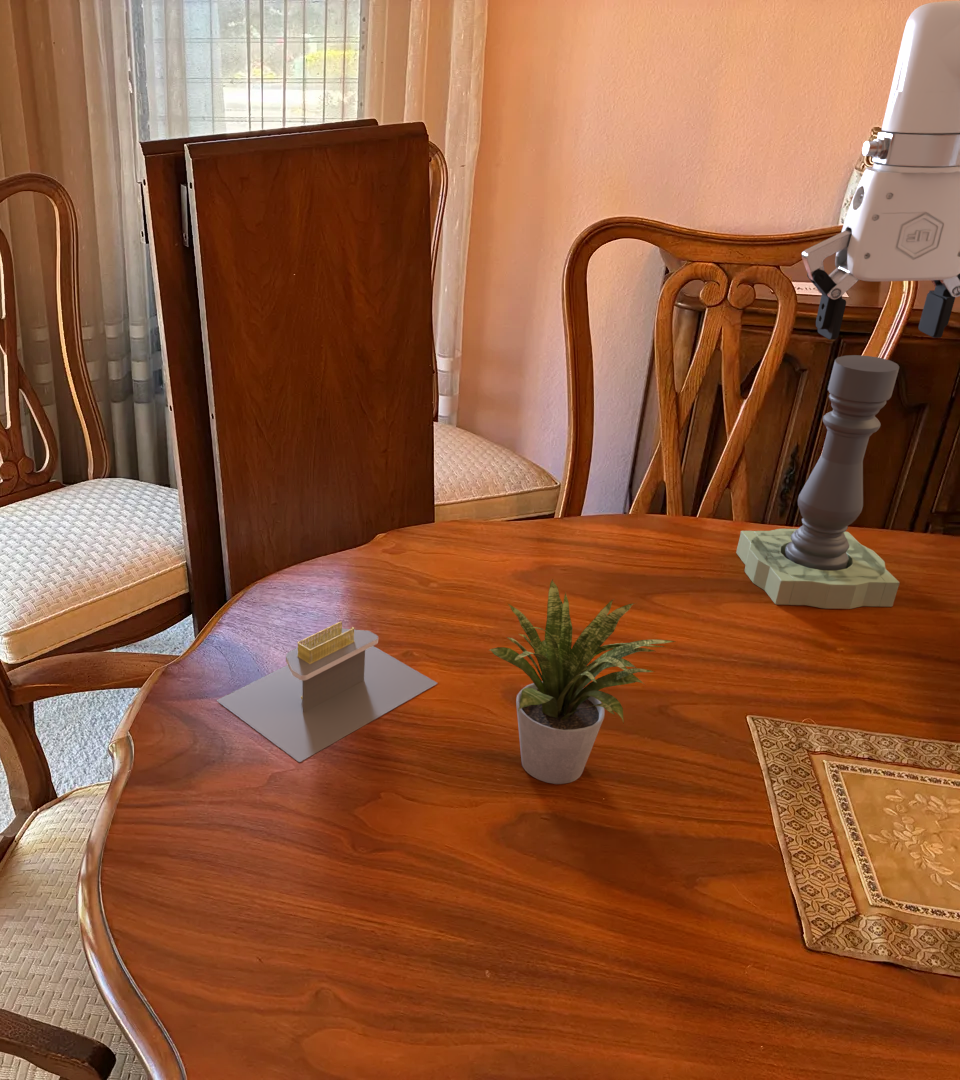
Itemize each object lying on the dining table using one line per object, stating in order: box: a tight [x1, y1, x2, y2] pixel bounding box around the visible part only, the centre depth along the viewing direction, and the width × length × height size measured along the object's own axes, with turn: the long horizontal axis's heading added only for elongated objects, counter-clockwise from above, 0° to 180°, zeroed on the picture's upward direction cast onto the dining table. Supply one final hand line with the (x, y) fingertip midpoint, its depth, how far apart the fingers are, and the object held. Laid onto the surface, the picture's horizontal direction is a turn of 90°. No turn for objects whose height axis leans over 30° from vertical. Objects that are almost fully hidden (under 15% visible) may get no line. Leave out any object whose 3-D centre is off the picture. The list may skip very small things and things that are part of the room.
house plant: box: [488, 578, 677, 785], centre depth 81 cm, size 14×14×16 cm
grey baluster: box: [784, 354, 900, 571], centre depth 107 cm, size 6×6×25 cm
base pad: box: [735, 528, 900, 610], centre depth 112 cm, size 13×13×3 cm
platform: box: [216, 621, 438, 763], centre depth 95 cm, size 12×18×7 cm, turn 129°
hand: (877, 335), depth 99 cm, fingers open, 9 cm apart
